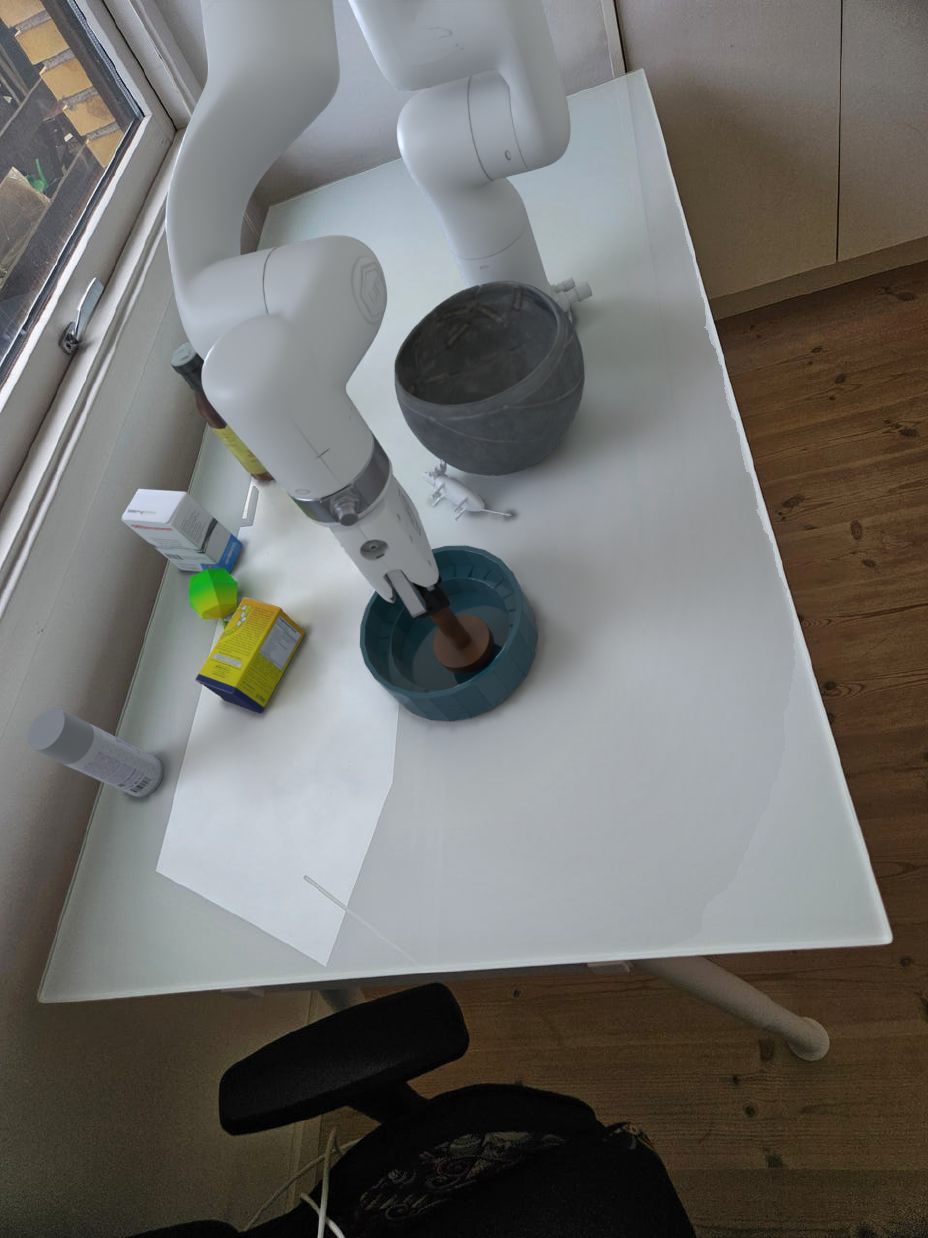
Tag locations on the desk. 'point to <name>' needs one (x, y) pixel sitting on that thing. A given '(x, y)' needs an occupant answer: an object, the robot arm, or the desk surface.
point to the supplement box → (251, 654)
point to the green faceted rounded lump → (213, 594)
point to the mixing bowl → (406, 643)
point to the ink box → (182, 530)
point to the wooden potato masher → (461, 641)
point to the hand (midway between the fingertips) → (430, 597)
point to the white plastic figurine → (454, 491)
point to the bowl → (491, 378)
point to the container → (94, 752)
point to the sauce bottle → (191, 371)
